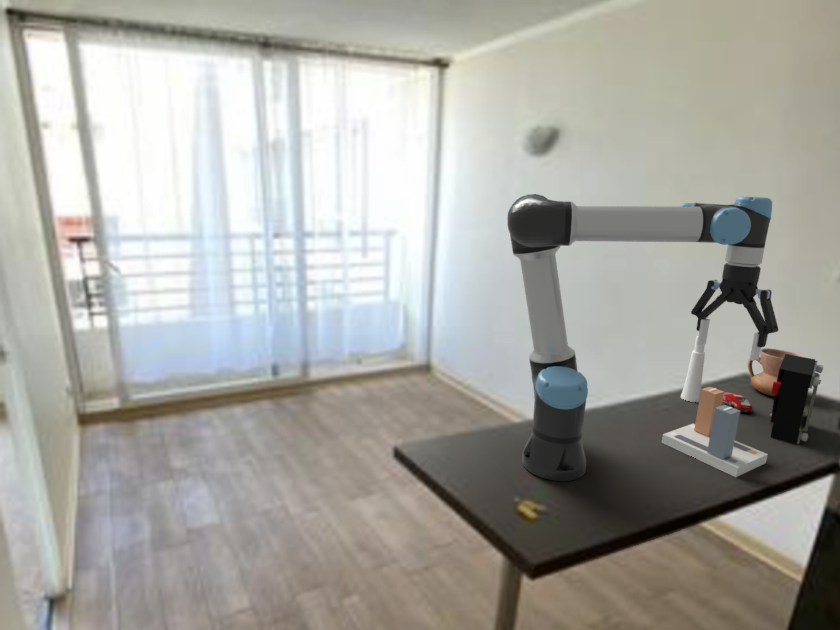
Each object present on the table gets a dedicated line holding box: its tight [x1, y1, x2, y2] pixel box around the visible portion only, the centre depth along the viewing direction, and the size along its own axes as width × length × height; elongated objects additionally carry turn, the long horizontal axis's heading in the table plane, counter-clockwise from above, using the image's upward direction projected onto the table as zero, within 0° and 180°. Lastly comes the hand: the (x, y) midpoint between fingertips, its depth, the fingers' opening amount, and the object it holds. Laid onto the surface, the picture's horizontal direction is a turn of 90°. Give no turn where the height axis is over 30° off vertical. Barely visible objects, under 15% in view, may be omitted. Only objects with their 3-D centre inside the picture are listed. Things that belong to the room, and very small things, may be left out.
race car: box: [722, 391, 753, 414], centre depth 177 cm, size 13×5×4 cm, turn 178°
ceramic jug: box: [747, 347, 804, 397], centre depth 188 cm, size 18×14×14 cm
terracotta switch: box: [694, 386, 725, 436], centre depth 150 cm, size 4×4×12 cm
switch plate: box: [661, 422, 768, 478], centre depth 145 cm, size 20×14×3 cm
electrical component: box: [769, 354, 824, 445], centre depth 158 cm, size 18×10×20 cm, turn 143°
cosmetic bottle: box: [680, 332, 706, 403], centre depth 178 cm, size 6×6×22 cm
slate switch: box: [707, 404, 741, 459], centre depth 138 cm, size 4×4×12 cm
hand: (726, 351), depth 136 cm, fingers open, 12 cm apart
